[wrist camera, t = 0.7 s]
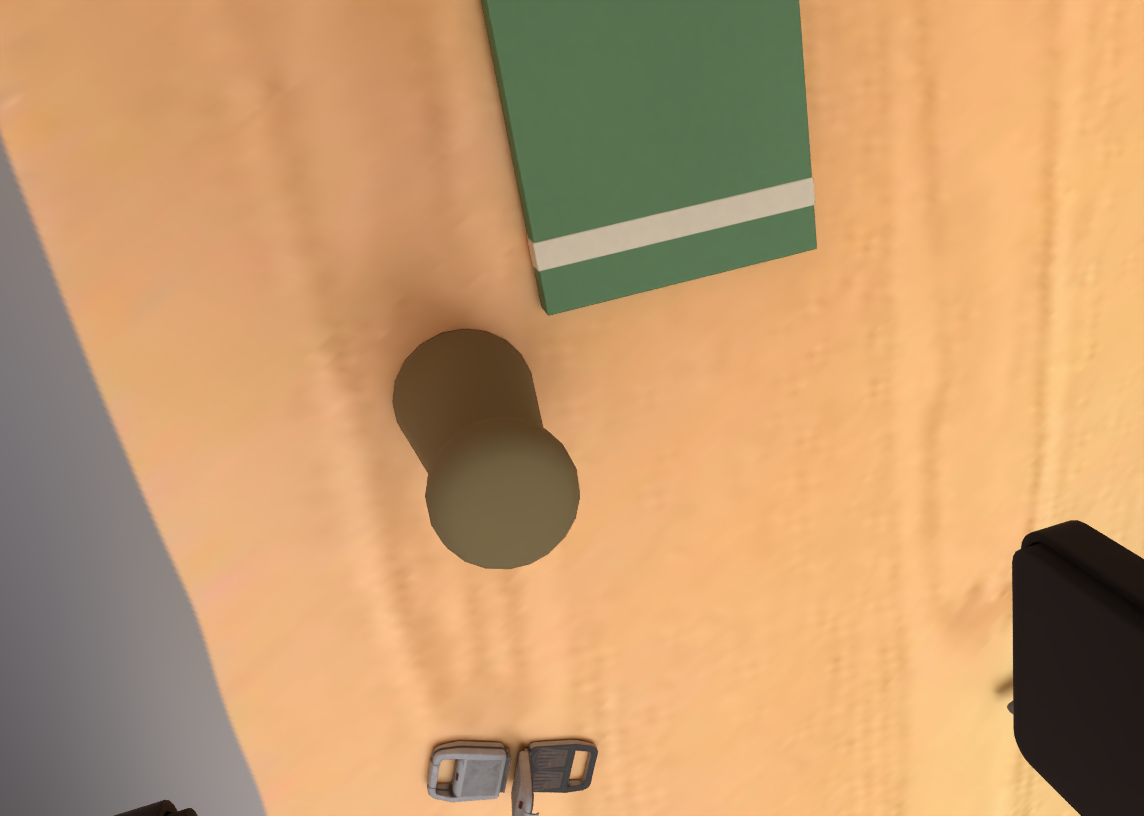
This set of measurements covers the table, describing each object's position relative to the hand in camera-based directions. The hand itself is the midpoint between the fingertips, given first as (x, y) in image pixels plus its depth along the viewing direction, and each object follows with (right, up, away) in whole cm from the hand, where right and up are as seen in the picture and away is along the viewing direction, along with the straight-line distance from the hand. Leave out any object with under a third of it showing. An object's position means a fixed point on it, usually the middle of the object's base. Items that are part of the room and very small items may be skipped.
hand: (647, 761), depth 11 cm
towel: (+2, +18, +27) cm, 32 cm away
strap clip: (-4, -14, +38) cm, 41 cm away
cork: (-5, +4, +31) cm, 31 cm away
